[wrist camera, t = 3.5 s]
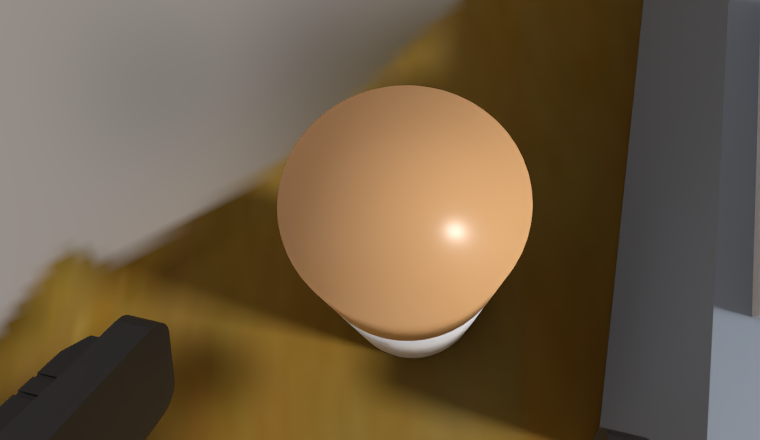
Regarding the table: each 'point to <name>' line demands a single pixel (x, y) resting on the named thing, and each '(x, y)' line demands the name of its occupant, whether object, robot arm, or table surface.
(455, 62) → the table surface
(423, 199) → the capped container
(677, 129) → the grey box
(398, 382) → the table surface
